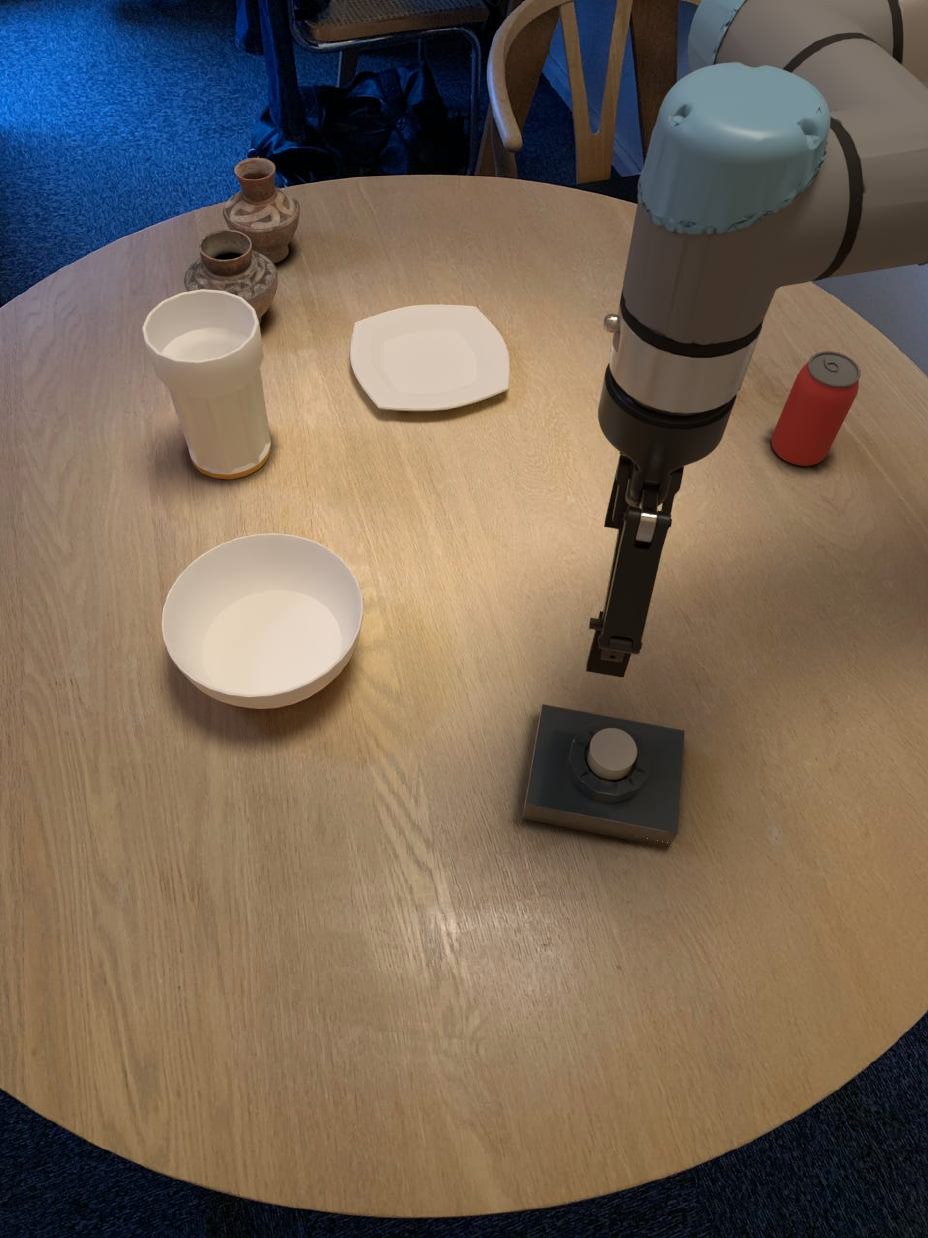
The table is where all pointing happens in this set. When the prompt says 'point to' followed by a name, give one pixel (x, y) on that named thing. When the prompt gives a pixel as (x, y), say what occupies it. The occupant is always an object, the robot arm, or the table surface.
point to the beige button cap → (611, 754)
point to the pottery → (248, 239)
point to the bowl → (263, 620)
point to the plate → (429, 358)
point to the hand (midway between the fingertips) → (613, 594)
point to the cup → (213, 378)
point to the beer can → (816, 408)
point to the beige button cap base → (597, 804)
